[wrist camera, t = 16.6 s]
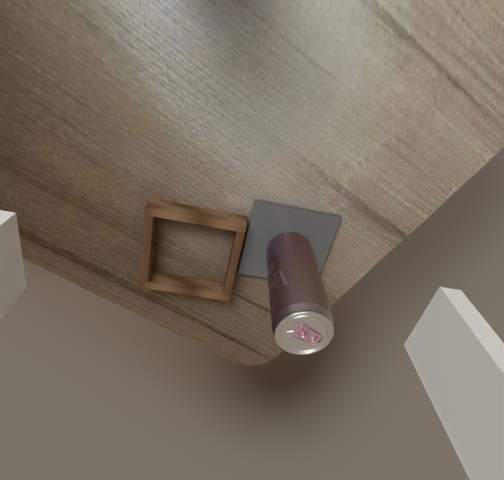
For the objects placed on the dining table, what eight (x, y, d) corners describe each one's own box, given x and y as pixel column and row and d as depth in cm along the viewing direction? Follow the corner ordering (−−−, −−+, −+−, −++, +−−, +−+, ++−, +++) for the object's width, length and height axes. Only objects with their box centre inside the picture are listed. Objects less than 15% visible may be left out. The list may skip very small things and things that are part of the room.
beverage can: (292, 274, 49) (308, 364, 36) (256, 254, 47) (260, 341, 34) (320, 243, 46) (349, 328, 33) (284, 221, 44) (298, 301, 31)
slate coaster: (237, 270, 49) (237, 273, 48) (255, 199, 43) (255, 201, 43) (314, 283, 50) (315, 286, 50) (340, 215, 45) (341, 217, 44)
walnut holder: (144, 276, 49) (139, 287, 47) (150, 198, 43) (145, 207, 41) (229, 289, 51) (229, 301, 48) (246, 216, 45) (246, 226, 42)
